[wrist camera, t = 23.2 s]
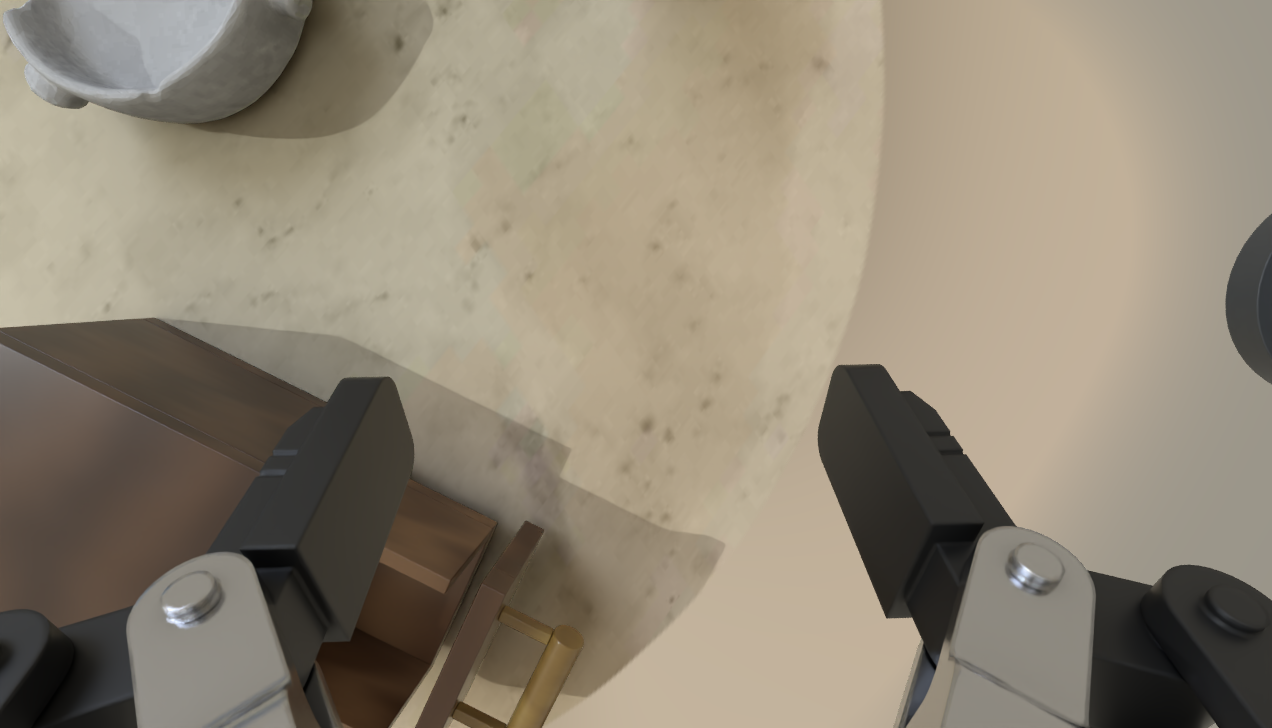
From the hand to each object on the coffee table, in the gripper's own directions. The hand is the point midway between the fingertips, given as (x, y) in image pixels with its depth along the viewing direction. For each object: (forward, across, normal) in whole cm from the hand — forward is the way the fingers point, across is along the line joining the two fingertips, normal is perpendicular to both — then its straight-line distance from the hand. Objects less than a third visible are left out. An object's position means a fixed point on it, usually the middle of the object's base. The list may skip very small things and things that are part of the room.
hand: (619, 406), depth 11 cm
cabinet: (+17, -23, -18) cm, 34 cm away
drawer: (+11, -11, -22) cm, 27 cm away
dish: (+29, -21, +4) cm, 36 cm away
